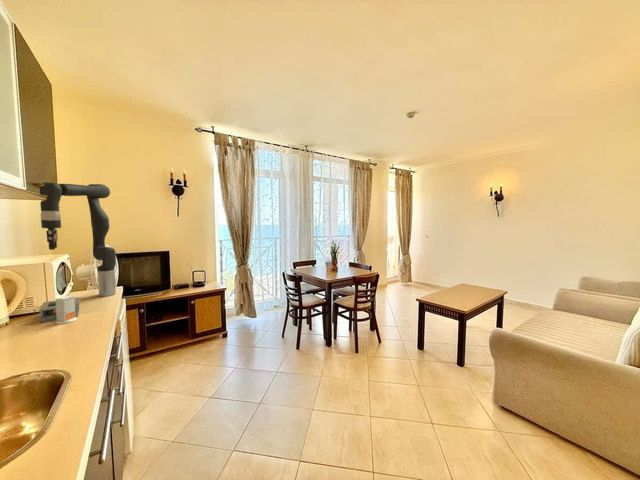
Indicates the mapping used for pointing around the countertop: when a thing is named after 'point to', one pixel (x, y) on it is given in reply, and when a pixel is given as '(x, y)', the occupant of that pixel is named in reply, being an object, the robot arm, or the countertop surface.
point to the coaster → (67, 321)
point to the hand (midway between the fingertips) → (53, 248)
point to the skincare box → (65, 308)
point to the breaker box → (48, 308)
